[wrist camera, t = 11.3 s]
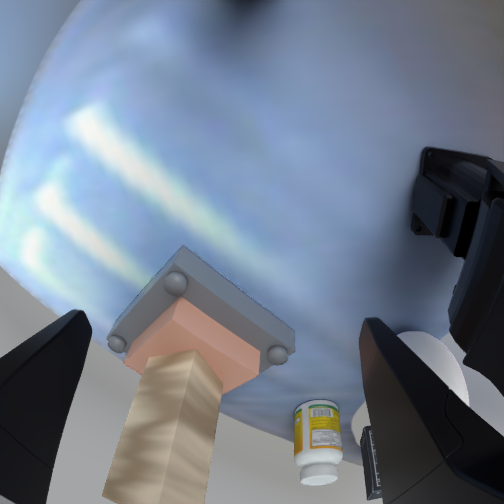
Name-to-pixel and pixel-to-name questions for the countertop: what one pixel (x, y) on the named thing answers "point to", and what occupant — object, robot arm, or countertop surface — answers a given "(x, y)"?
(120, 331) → the studded grey base plate
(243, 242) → the countertop surface
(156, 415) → the tall oak brick
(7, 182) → the countertop surface
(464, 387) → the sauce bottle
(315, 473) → the supplement bottle
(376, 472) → the small box
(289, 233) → the countertop surface
